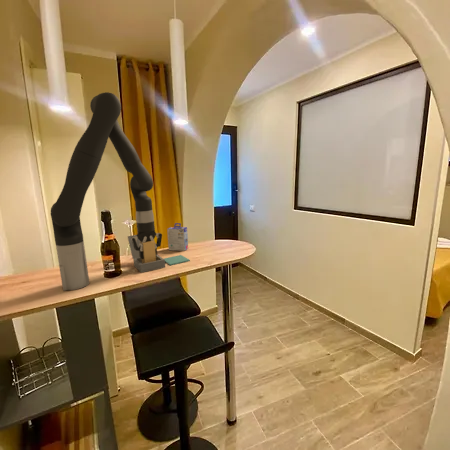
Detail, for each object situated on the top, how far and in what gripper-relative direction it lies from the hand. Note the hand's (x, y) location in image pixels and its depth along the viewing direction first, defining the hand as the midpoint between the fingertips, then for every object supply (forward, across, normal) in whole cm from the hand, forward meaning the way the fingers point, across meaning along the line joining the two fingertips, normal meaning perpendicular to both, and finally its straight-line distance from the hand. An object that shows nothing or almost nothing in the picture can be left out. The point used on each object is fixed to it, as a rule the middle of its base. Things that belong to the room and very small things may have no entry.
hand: (148, 257), depth 124 cm
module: (+4, 0, 0) cm, 4 cm away
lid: (-4, 0, +9) cm, 10 cm away
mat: (+4, +13, 0) cm, 14 cm away
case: (+4, 0, 0) cm, 4 cm away
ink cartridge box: (+5, +22, +17) cm, 28 cm away
